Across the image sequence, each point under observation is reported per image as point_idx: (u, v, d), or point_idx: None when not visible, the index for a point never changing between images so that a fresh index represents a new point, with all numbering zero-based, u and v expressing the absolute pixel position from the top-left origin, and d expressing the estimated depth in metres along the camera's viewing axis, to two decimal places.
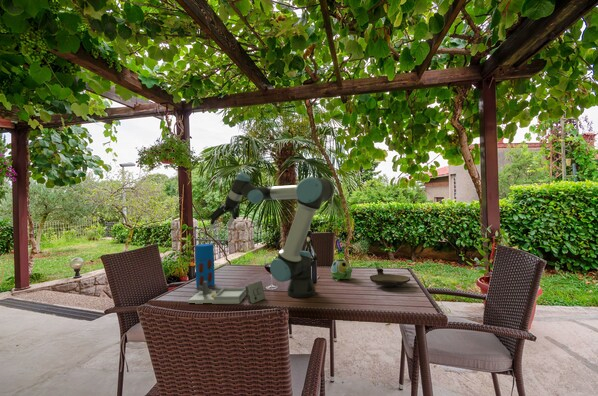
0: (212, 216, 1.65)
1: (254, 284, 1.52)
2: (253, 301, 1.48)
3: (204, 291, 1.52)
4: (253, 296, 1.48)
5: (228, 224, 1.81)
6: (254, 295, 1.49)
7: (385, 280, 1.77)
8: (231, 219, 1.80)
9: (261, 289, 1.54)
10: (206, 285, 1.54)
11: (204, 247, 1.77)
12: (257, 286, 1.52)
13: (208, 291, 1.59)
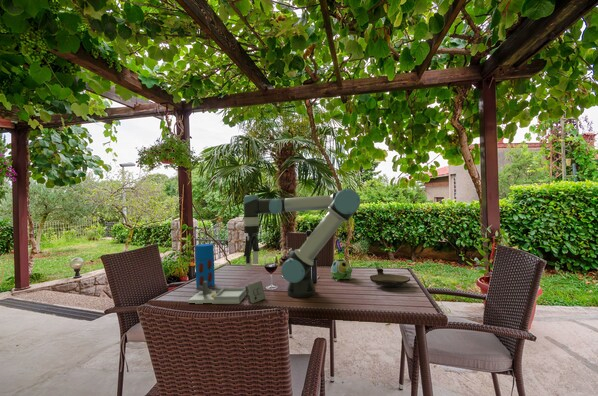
0: (246, 252, 1.43)
1: (254, 284, 1.52)
2: (253, 301, 1.48)
3: (204, 291, 1.52)
4: (253, 296, 1.48)
5: (254, 261, 1.59)
6: (254, 295, 1.49)
7: (385, 280, 1.77)
8: (255, 253, 1.59)
9: (261, 289, 1.54)
10: (206, 285, 1.54)
11: (204, 247, 1.77)
12: (257, 286, 1.52)
13: (208, 291, 1.59)
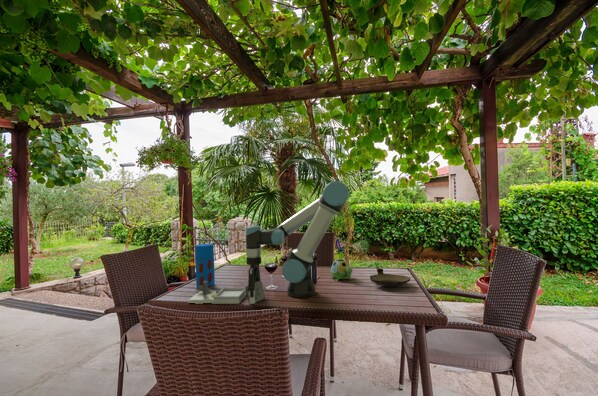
0: (250, 287, 1.44)
1: None
2: None
3: (204, 291, 1.52)
4: None
5: None
6: None
7: (385, 280, 1.77)
8: None
9: (261, 289, 1.54)
10: (206, 285, 1.54)
11: (204, 247, 1.77)
12: (257, 286, 1.52)
13: (208, 291, 1.59)
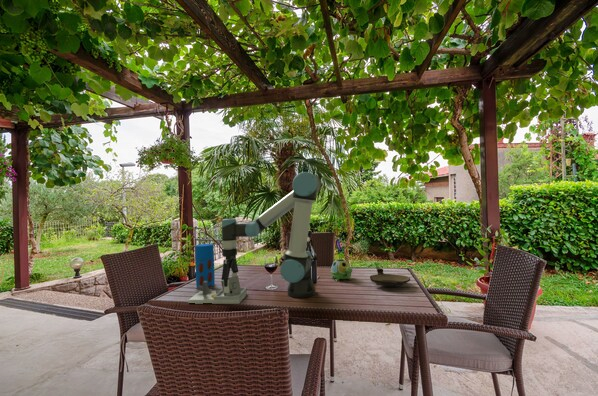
0: (224, 276, 1.46)
1: (230, 279, 1.56)
2: (228, 295, 1.52)
3: (204, 291, 1.52)
4: None
5: None
6: (230, 289, 1.53)
7: (385, 280, 1.77)
8: (234, 275, 1.62)
9: (237, 283, 1.58)
10: (206, 285, 1.54)
11: (204, 247, 1.77)
12: (233, 280, 1.57)
13: (208, 291, 1.59)
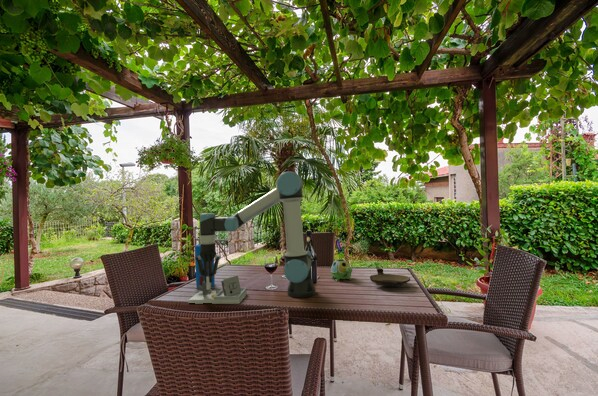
0: None
1: (230, 279, 1.56)
2: (228, 295, 1.52)
3: (204, 291, 1.52)
4: (228, 290, 1.53)
5: None
6: (230, 289, 1.53)
7: (385, 280, 1.77)
8: None
9: (237, 283, 1.58)
10: None
11: None
12: (233, 280, 1.57)
13: (208, 291, 1.59)
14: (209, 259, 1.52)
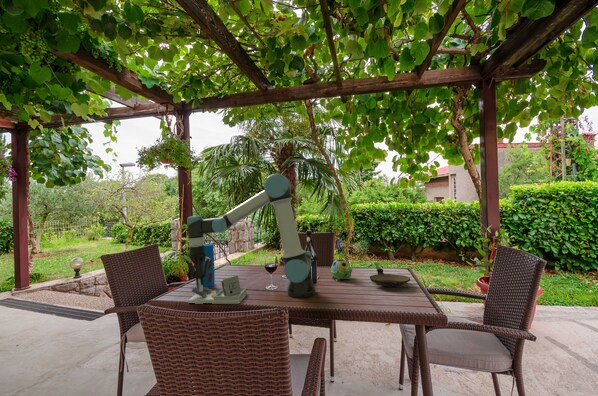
0: None
1: (230, 279, 1.56)
2: (228, 295, 1.52)
3: (200, 293, 1.52)
4: (228, 290, 1.53)
5: None
6: (230, 289, 1.53)
7: (385, 280, 1.77)
8: None
9: (237, 283, 1.58)
10: (197, 289, 1.54)
11: None
12: (233, 280, 1.57)
13: (208, 291, 1.59)
14: (199, 261, 1.52)
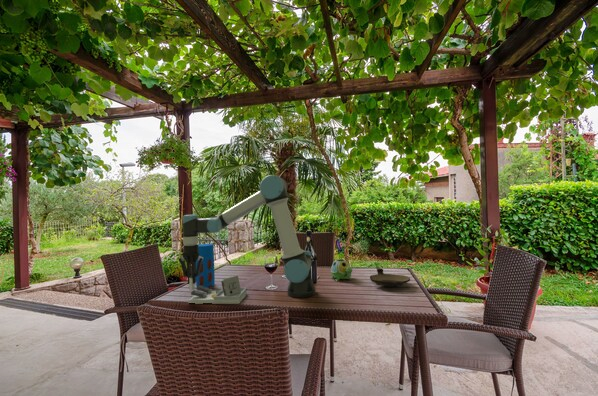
0: None
1: (230, 279, 1.56)
2: (228, 295, 1.52)
3: (199, 294, 1.52)
4: (228, 290, 1.53)
5: None
6: (230, 289, 1.53)
7: (385, 280, 1.77)
8: None
9: (237, 283, 1.58)
10: (196, 291, 1.54)
11: (204, 247, 1.77)
12: (233, 280, 1.57)
13: (208, 291, 1.59)
14: (192, 260, 1.53)
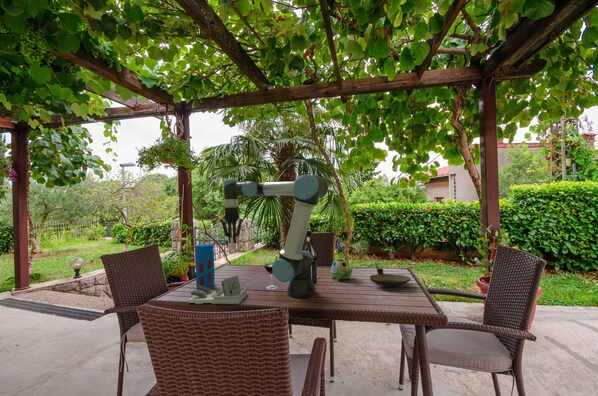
0: None
1: (230, 279, 1.56)
2: (228, 295, 1.52)
3: (199, 294, 1.52)
4: (228, 290, 1.53)
5: None
6: (230, 289, 1.53)
7: (385, 280, 1.77)
8: None
9: (237, 283, 1.58)
10: (196, 291, 1.54)
11: (204, 247, 1.77)
12: (233, 280, 1.57)
13: (208, 291, 1.59)
14: (233, 221, 1.65)
